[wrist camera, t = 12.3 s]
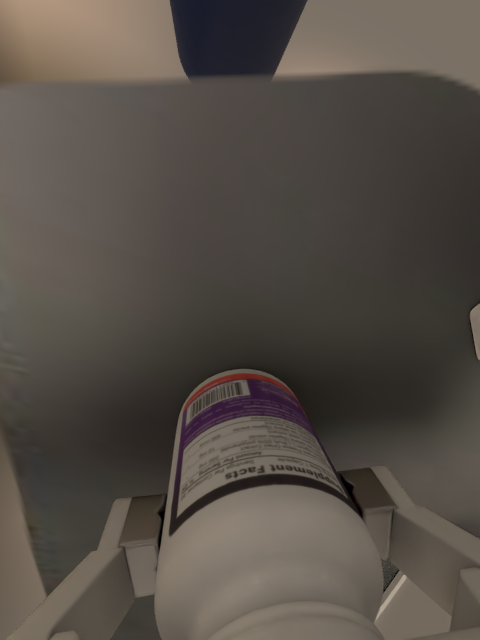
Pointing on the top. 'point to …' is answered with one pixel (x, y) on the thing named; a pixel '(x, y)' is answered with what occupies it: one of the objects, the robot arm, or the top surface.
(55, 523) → the top surface
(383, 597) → the gravestone
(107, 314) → the top surface
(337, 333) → the top surface
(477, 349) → the perfume bottle
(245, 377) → the pill bottle
